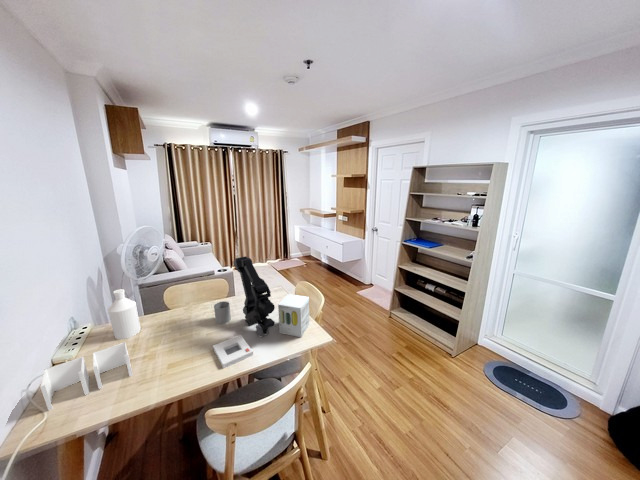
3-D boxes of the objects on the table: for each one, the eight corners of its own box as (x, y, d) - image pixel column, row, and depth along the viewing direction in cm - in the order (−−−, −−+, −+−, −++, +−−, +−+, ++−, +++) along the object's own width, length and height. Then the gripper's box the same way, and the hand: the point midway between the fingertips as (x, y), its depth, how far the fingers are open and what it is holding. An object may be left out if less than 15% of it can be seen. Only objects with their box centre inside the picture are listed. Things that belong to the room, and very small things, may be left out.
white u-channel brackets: (130, 362, 115) (125, 341, 113) (132, 376, 107) (127, 354, 105) (52, 392, 99) (44, 369, 97) (48, 411, 91) (40, 386, 89)
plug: (256, 333, 136) (255, 323, 135) (265, 329, 139) (264, 320, 138) (260, 337, 133) (259, 327, 131) (269, 333, 136) (268, 324, 135)
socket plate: (213, 349, 124) (212, 344, 123) (241, 338, 132) (240, 334, 131) (223, 368, 111) (222, 363, 111) (253, 355, 120) (252, 350, 119)
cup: (233, 318, 150) (232, 303, 147) (222, 325, 143) (220, 310, 140) (224, 314, 154) (223, 300, 151) (212, 321, 147) (210, 305, 145)
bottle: (141, 324, 144) (133, 284, 138) (141, 334, 135) (132, 292, 128) (115, 331, 138) (105, 289, 132) (113, 342, 129) (102, 298, 122)
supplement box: (278, 333, 136) (277, 304, 132) (288, 320, 148) (287, 293, 144) (301, 337, 132) (300, 308, 128) (309, 324, 144) (309, 296, 140)
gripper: (239, 303, 134) (241, 328, 138) (253, 318, 120) (255, 346, 124) (258, 297, 141) (260, 321, 145) (274, 311, 127) (276, 337, 131)
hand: (262, 331), depth 136 cm, fingers closed on plug, 4 cm apart
